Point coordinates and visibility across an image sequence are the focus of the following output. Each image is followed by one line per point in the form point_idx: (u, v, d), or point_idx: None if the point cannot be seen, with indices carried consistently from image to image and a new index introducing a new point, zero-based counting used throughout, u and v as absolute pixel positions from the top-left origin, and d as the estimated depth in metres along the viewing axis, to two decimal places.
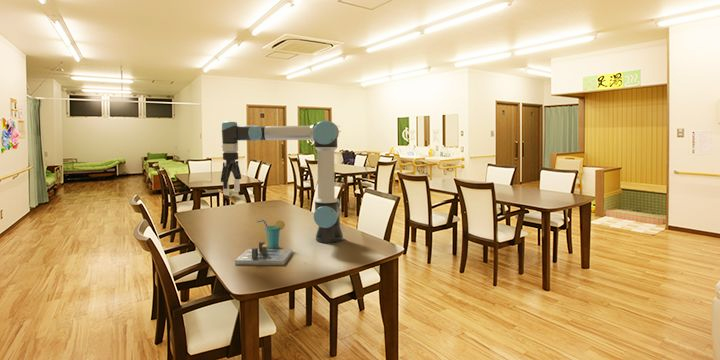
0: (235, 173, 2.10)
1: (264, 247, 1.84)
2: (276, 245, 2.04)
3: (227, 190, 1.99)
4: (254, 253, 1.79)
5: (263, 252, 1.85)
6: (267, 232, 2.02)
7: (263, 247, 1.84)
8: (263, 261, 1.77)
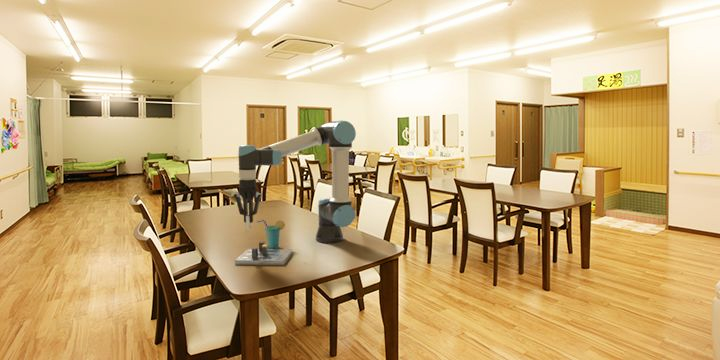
0: None
1: (264, 247, 1.84)
2: (276, 245, 2.04)
3: None
4: (254, 253, 1.79)
5: (263, 252, 1.85)
6: (267, 232, 2.02)
7: (263, 247, 1.84)
8: (263, 261, 1.77)
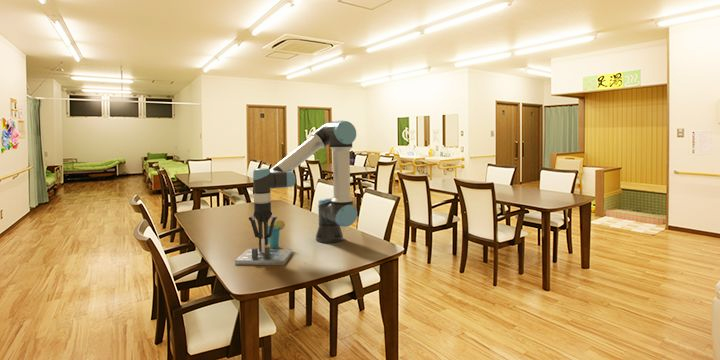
0: None
1: (267, 247, 1.84)
2: (276, 245, 2.04)
3: None
4: (254, 253, 1.79)
5: (266, 252, 1.85)
6: None
7: (266, 247, 1.84)
8: (263, 261, 1.77)
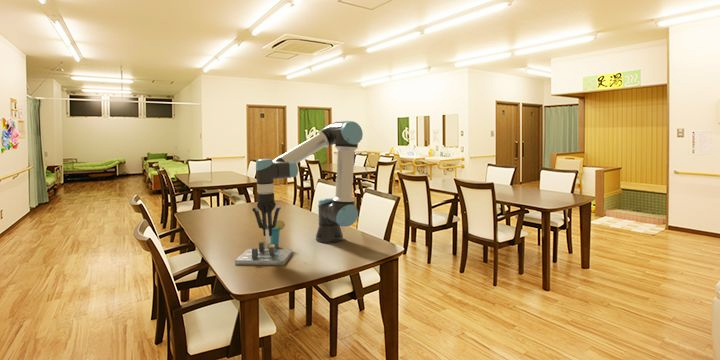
0: None
1: (271, 247, 1.84)
2: (276, 245, 2.04)
3: None
4: (254, 253, 1.79)
5: (270, 252, 1.85)
6: None
7: (270, 247, 1.84)
8: (263, 261, 1.77)
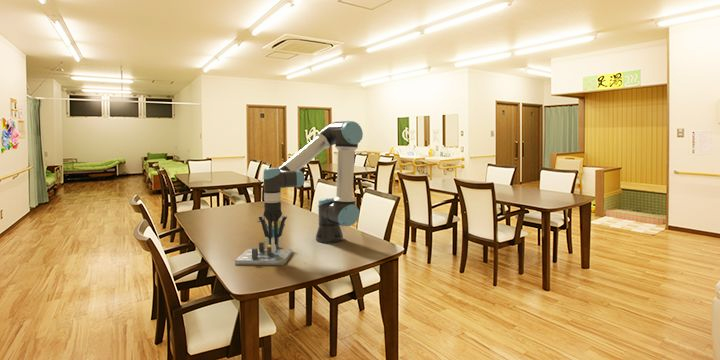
0: None
1: (269, 247, 1.84)
2: (276, 245, 2.04)
3: None
4: (254, 253, 1.79)
5: (268, 252, 1.85)
6: None
7: (268, 247, 1.84)
8: (263, 261, 1.77)
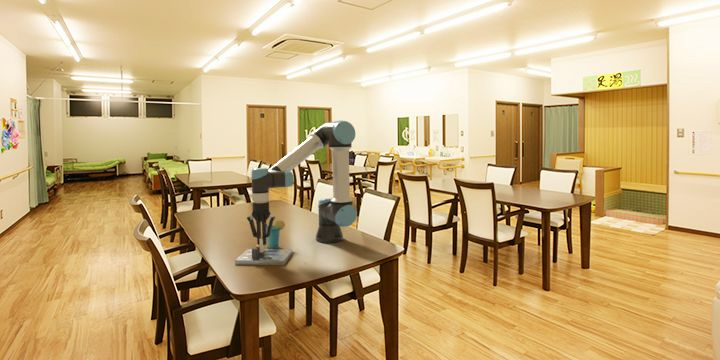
0: None
1: (258, 247, 1.85)
2: (276, 245, 2.04)
3: None
4: (254, 253, 1.79)
5: None
6: None
7: (257, 247, 1.85)
8: (263, 261, 1.77)
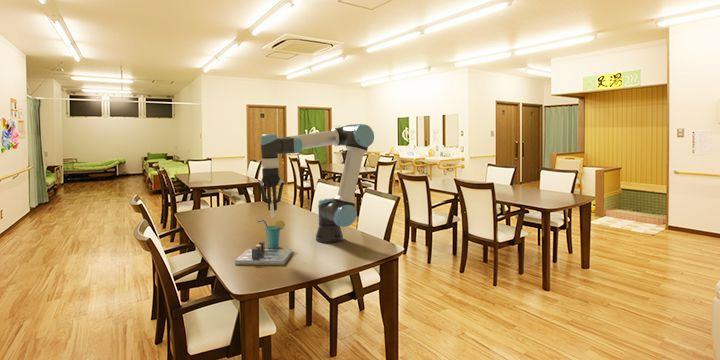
0: None
1: (258, 247, 1.85)
2: (276, 245, 2.04)
3: None
4: (254, 253, 1.79)
5: None
6: (267, 232, 2.02)
7: (257, 247, 1.85)
8: (263, 261, 1.77)
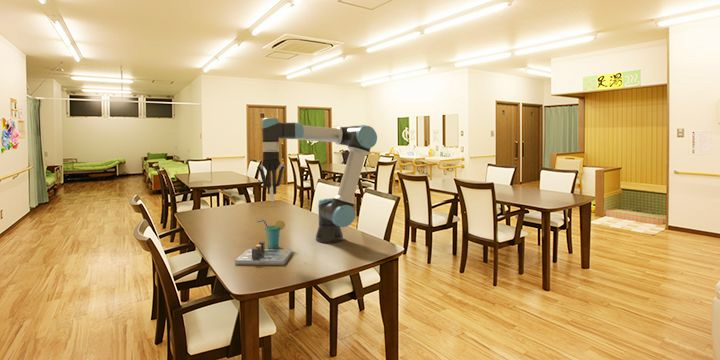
0: None
1: (258, 247, 1.85)
2: (276, 245, 2.04)
3: None
4: (254, 253, 1.79)
5: None
6: (267, 232, 2.02)
7: (257, 247, 1.85)
8: (263, 261, 1.77)
